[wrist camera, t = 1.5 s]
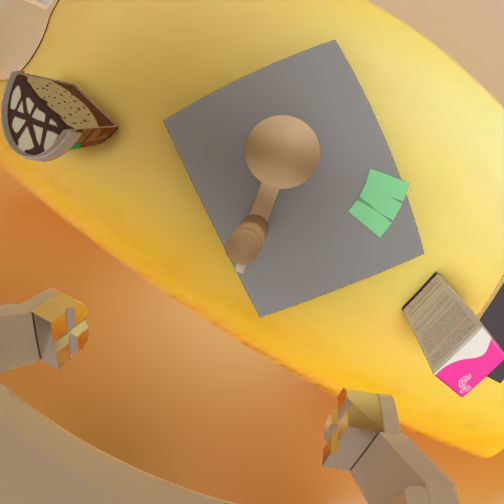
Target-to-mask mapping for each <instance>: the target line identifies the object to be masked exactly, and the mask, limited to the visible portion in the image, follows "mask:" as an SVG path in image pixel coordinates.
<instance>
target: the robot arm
mask: <svg viewBox="0 0 504 504" xmlns="http://www.w3.org/2000/svg"><path fill="white" fill-rule="evenodd" d="M57 2H58V0H0V80H7V79H9V77H10V74H11V72H12V71H21V70H22V68H23V67H24V66H25V65H26V64H27V63H28V61H29V60H30V58H31V57H32V55H33V54H34V52H35V51H36V49H37V47H38V45H39V43H40V41H41V39H42V37H43V34H44V32H45V29H46V26H47V23H48V20H49V16H50V14H51V12H52V10H53V8H54V7H55V5H56V3H57ZM87 316H88V313H87V307H86V306H85V305H84V304H83V303H81V302H79V301H77V300H75V299H73V298H71V297H69V296H67V295H65V294H62V293H61V292H59V291H57V290H55V289H47V290H46V291H44V292H42V293H40V294H38V295H36V296H35V297H33V298H31V299H29V300H28V301H26V302H24V303H22V304H20V305H18V304H7V305H0V372H4V371H7V370H11V369H14V368H17V367H21V366H23V365H27V364H30V363H33V362H36V361H40V359H41V360H43V361H44V362H46V363H48V364H49V365H51V366H53V367H55V368H56V369H60V368H61V367H62V366H64V365H65V364H66V363H67V362H68V361H69V360H71V354H74V353H78V352H79V351H81V350H82V349H83V348H84V346H85V344H86V343H87V341H88V336H89V330H88V329H89V328H88V326H87V324H86V322H85V319H86V318H87ZM337 400H338V405H337V406H335V407H333V408H332V409H331V411H330V413H329V415H328V418H327V421H326V424H325V429H324V438H325V440H326V441H327V444H326V445H325V447H324V448H323V461H322V466H325V467H330V468H336V469H342V470H350V474H351V475H352V477H353V479H354V480H355V482H356V484H357V486H358V487H359V489H360V491H361V492H362V494H363V496H364V497H365V499H366V501H367V502H368V504H459V502H458V498H457V494H456V489H455V485H454V483H453V482H452V481H451V480H450V479H449V478H448V477H447V476H446V475H445V474H444V473H443V472H442V471H441V470H440V469H439V468H438V467H437V466H436V465H435V464H434V463H433V462H432V461H431V460H430V459H429V458H428V457H427V456H426V455H425V454H424V453H423V452H422V451H421V450H420V449H419V448H418V447H417V446H416V445H415V444H414V442H413V441H412V440H410V438H409V437H407V435H403V434H402V433H401V428H400V424H399V419H398V415H397V411H396V406H395V402H394V398H393V397H392V396H391V395H385V394H378V393H376V394H374V393H369V392H363V391H358V390H353V389H347V388H343V389H342V390H341V392H340V394H339V396H338V398H337ZM0 504H236V503H232V502H228V501H225V500H221V499H218V498H214V497H211V496H208V495H205V494H202V493H199V492H196V491H192V490H190V489H187V488H184V487H181V486H179V485H176V484H173V483H170V482H168V481H166V480H163V479H161V478H158V477H156V476H153V475H151V474H149V473H146V472H144V471H142V470H140V469H137V468H135V467H132V466H131V465H129V464H127V463H125V462H122V461H120V460H118V459H116V458H114V457H112V456H111V455H109V454H107V453H105V452H103V451H101V450H99V449H97V448H95V447H94V446H92V445H90V444H88V443H86V442H85V441H83V440H81V439H80V438H78V437H76V436H74V435H73V434H71V433H70V432H68V431H66V430H65V429H63V428H62V427H60V426H58V425H57V424H56V423H54V422H53V421H51V420H50V419H48V418H47V417H45V416H44V415H42V414H41V413H39V412H38V411H36V410H35V409H34V408H32V407H31V406H30V405H28V404H27V403H25V402H24V401H23V400H22V399H20V398H19V397H18V396H16V395H15V394H14V393H13V392H11V391H10V390H9V389H8V388H6V387H5V386H4V385H3V384H1V383H0Z"/></svg>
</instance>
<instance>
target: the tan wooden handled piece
mask: <svg viewBox="0 0 504 504" xmlns="http://www.w3.org/2000/svg"><path fill="white" fill-rule="evenodd" d="M245 157H246V161H247V164H248V167H249V169H250V171H251V172H252V173H253V175H254V176H255V177H256V178H257V179H258V180H259V181H261V182H262V183H261V185H260V188H259V191H258V194H257V196H256V199H255V202H254V205H253V207H252V210H251V213H250V215H249V216H247V217H246V218H245V219H244V220H243V221H242V222H241V223H240V225H239V226H238V227H237V228H236V229H235V230H234V232H233V233H232V234H231V235H230V236H229V237H228V239H227V241H226V244H225V251H226V254H227V256H228V257H229V259H230V260H231V261H233V262H234V263H236V264H237V266H236V268H235V271H237V272H239V273H242V274H243V272H244V270H245V267H246V265H247V264H250V263H252V262H253V261H254V260H255V259H256V258H257V257H258V254H259V252H260V250H261V248H262V245H263V243H264V241H265V238H266V236H267V234H268V230H269V227H268V223H267V222H268V219H269V216H270V214H271V211H272V208H273V206H274V203H275V201H276V198H277V195H278V193H279V190H280V189H287V188H293V187H296V186H299V185H301V184H302V183H304V182H305V181H307V180H308V179H309V178H310V177H311V176H312V175H313V173H314V172H315V170H316V168H317V166H318V163H319V159H320V146H319V142H318V139H317V137H316V135H315V133H314V132H313V130H312V129H311V128H310V127H309V126H308V125H307V124H306V123H305V122H303V121H302V120H300V119H298V118H295V117H292V116H287V115H277V116H272V117H269V118H266V119H265V120H263V121H261V122H260V123H258V124H257V125H256V126H255V127H254V128H253V130H252V131H251V132H250V134H249V136H248V138H247V141H246V146H245Z"/></svg>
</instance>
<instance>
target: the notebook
mask: <svg viewBox="0 0 504 504" xmlns="http://www.w3.org/2000/svg"><path fill="white" fill-rule="evenodd" d="M477 318H478V319H479V320H480V321H481V323H482V324H483V325H484V327H485V328H486V329H487V330H488V332H489V333H490V334H491V336H492V337H493V338H494V340H495V341H496V342H497V344H498V345H499V346H500V348H501V349H502V350H503V352H504V275H503V277H502V279H501V281H500V282H499V284H498V285H497V287H496V289H495V290H494V292H493V293H492V295H491V297H490V298H489V300H488V301H487V303H486V304H485V306H484V307H483V309H482V310H481V312H480V313H479V314H478V316H477ZM487 377H489V378H491V379H493V380H495V381H497V382H499V383H501V382H502V381H503V379H504V360H503V361H502V362H501V363H500V364H499V365H498V366H497V367H496V368H495V369H493V370H492V371H491V372H490V373H489V374H488V375H487Z"/></svg>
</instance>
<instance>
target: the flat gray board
mask: <svg viewBox="0 0 504 504" xmlns="http://www.w3.org/2000/svg"><path fill="white" fill-rule="evenodd" d="M277 115H287V116H292V117H295V118H298V119H300V120H302V121H303V122H305V123H306V124H307V125H308V126H309V127H310V128H311V129H312V130H313V132H314V133H315V135H316V137H317V139H318V142H319V146H320V159H319V163H318V166H317V168H316V170H315V172H314V173H313V175H312V176H311V177H310V178H309V179H308V180H307V181H305V182H304V183H302V184H301V185H299V186H296V187H293V188H287V189H280V190H279V193H278V195H277V198H276V201H275V203H274V206H273V208H272V211H271V214H270V216H269V219H268V222H267V223H268V227H269V230H268V234H267V236H266V238H265V241H264V243H263V245H262V248H261V250H260V252H259V254H258V257H257V258H256V259H255V260H254V261H253V262H252V263H250V264H247V265H246V267H245V270H244V272H243V274H242V273H239V272H237V271H236V272H237V274H238V276H239V278H240V280H241V282H242V284H243V286H244V288H245V290H246V292H247V294H248V296H249V298H250V300H251V302H252V303H253V305H254V307H255V309H256V311H257V313H258V315H259V317H263V316H265V315H268V314H271V313H274V312H277V311H280V310H283V309H286V308H288V307H291V306H294V305H297V304H299V303H302V302H305V301H308V300H310V299H313V298H316V297H319V296H321V295H324V294H327V293H329V292H332V291H334V290H337V289H340V288H342V287H345V286H347V285H350V284H352V283H355V282H358V281H360V280H363V279H365V278H368V277H370V276H373V275H375V274H377V273H380V272H382V271H385V270H387V269H390V268H392V267H394V266H397V265H399V264H401V263H404V262H406V261H409V260H411V259H413V258H415V257H418V256H420V255H422V254H424V251H423V247H422V243H421V240H420V236H419V233H418V229H417V226H416V223H415V220H414V216H413V213H412V210H411V207H410V204H409V201H408V198H407V195H406V191H407V188H408V185H409V183H407V182H405V181H402V180H401V178H400V175H399V173H398V170H397V167H396V165H395V162H394V160H393V157H392V155H391V152H390V150H389V147H388V145H387V142H386V140H385V138H384V135H383V133H382V131H381V128H380V126H379V124H378V121H377V119H376V117H375V115H374V113H373V111H372V108H371V106H370V104H369V102H368V100H367V98H366V96H365V94H364V92H363V90H362V88H361V86H360V84H359V82H358V80H357V78H356V76H355V74H354V72H353V71H352V69H351V67H350V65H349V63H348V61H347V60H346V58H345V56H344V54H343V52H342V51H341V49H340V47H339V45H338V44H337V42H336V40H333V41H330V42H327V43H324V44H321V45H319V46H316V47H313V48H310V49H308V50H305V51H303V52H300V53H298V54H295V55H293V56H290V57H288V58H285V59H283V60H280V61H278V62H276V63H273V64H271V65H269V66H267V67H264V68H262V69H260V70H258V71H256V72H253V73H251V74H249V75H247V76H245V77H243V78H241V79H239V80H237V81H235V82H233V83H230V84H229V85H227V86H225V87H223V88H221V89H219V90H217V91H215V92H213V93H211V94H209V95H207V96H205V97H204V98H202V99H200V100H198V101H196V102H195V103H193V104H191V105H189V106H187V107H186V108H184V109H182V110H180V111H179V112H177V113H175V114H174V115H172V116H170V117H169V118H167V119H165V120H164V121H163V122H164V124H165V126H166V128H167V130H168V132H169V135H170V137H171V139H172V141H173V143H174V145H175V147H176V149H177V151H178V154H179V156H180V158H181V160H182V162H183V164H184V166H185V168H186V170H187V172H188V174H189V177H190V179H191V181H192V183H193V185H194V187H195V189H196V191H197V193H198V195H199V197H200V199H201V201H202V203H203V205H204V207H205V210H206V212H207V214H208V216H209V218H210V220H211V222H212V224H213V226H214V228H215V230H216V232H217V234H218V236H219V238H220V240H221V242H222V244H223V246H224V248H225V244H226V241H227V239H228V237H229V236H230V235H231V234H232V233H233V232H234V230H235V229H236V228H237V227H238V226H239V225H240V223H241V222H242V221H243V220H244V219H245V218H246V217H247V216H249V215H250V213H251V210H252V207H253V205H254V202H255V199H256V196H257V194H258V191H259V188H260V185H261V183H262V182H261V181H259V180H258V179H257V178H256V177H255V176H254V175H253V173H252V172H251V171H250V169H249V167H248V164H247V161H246V157H245V146H246V141H247V138H248V136H249V134H250V132H251V131H252V130H253V128H254V127H255V126H256V125H257V124H258V123H260V122H261V121H263V120H265V119H266V118H269V117H272V116H277ZM231 262H232V264H233V266H234V268H236V266H237V264H236V263H234V262H233V261H231Z"/></svg>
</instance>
